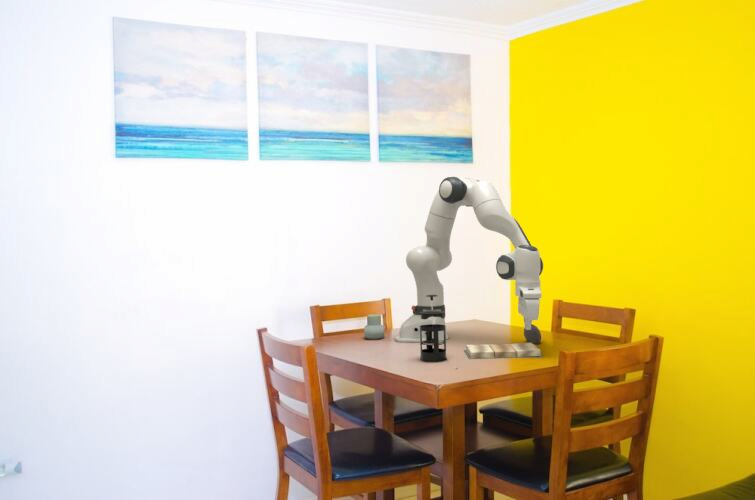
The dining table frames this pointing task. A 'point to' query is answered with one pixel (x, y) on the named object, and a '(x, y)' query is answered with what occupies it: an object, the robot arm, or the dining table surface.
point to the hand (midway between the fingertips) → (527, 329)
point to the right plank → (526, 349)
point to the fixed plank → (503, 350)
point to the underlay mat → (495, 358)
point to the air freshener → (374, 327)
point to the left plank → (480, 351)
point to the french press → (431, 331)
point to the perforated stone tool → (533, 335)
